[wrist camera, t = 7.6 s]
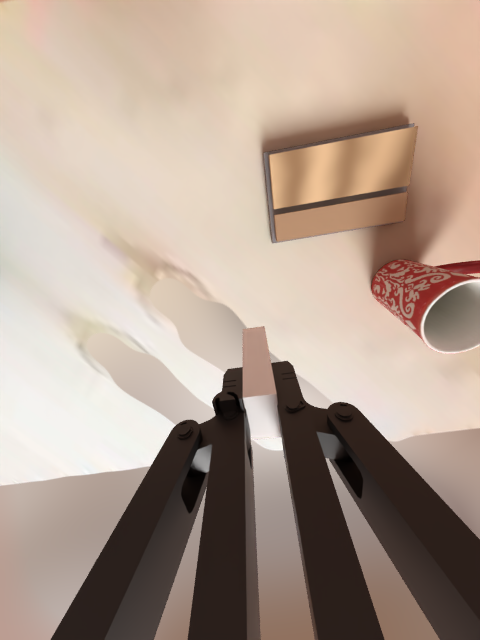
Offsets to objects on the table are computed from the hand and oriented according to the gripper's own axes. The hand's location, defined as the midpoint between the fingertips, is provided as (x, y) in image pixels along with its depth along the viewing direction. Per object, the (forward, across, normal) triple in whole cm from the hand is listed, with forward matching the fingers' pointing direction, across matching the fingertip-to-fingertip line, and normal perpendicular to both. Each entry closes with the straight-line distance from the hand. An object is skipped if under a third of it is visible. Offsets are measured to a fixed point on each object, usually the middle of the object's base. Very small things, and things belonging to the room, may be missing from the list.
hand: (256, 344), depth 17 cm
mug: (+23, +24, -5) cm, 33 cm away
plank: (+21, +13, +11) cm, 27 cm away
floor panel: (+22, +13, +9) cm, 27 cm away
